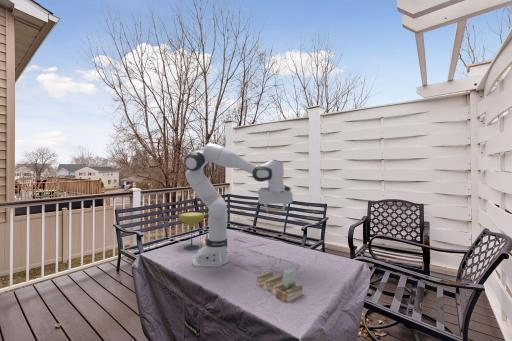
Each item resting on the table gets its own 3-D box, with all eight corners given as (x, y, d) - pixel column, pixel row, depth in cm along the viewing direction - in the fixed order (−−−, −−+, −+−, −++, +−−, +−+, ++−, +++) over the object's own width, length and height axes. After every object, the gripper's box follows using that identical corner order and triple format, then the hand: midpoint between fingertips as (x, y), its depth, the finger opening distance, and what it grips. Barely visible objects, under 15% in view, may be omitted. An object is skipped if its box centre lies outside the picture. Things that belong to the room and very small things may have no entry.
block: (282, 292, 117) (282, 271, 117) (290, 288, 121) (291, 267, 121) (287, 294, 115) (287, 273, 114) (295, 290, 119) (296, 269, 118)
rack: (255, 285, 126) (255, 276, 126) (270, 279, 134) (271, 270, 134) (286, 303, 110) (286, 293, 110) (302, 294, 118) (302, 285, 118)
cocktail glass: (176, 245, 187) (177, 212, 186) (201, 242, 194) (201, 210, 194) (180, 253, 170) (180, 216, 170) (206, 249, 178) (207, 214, 177)
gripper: (259, 188, 141) (259, 212, 141) (293, 188, 145) (293, 211, 145) (257, 187, 147) (256, 210, 147) (290, 187, 151) (289, 209, 152)
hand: (275, 211), depth 146 cm, fingers open, 8 cm apart
